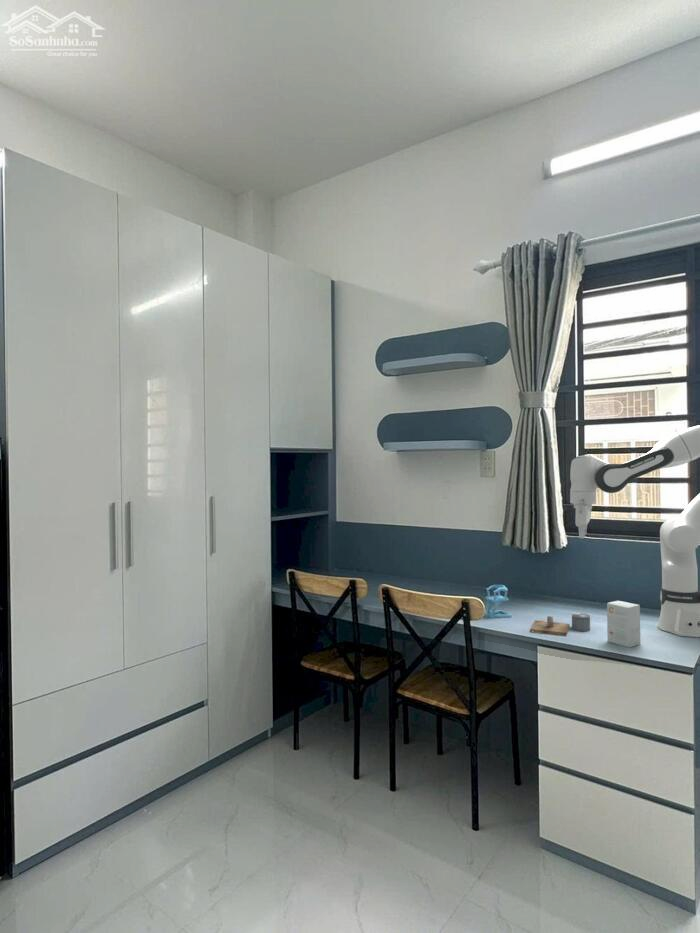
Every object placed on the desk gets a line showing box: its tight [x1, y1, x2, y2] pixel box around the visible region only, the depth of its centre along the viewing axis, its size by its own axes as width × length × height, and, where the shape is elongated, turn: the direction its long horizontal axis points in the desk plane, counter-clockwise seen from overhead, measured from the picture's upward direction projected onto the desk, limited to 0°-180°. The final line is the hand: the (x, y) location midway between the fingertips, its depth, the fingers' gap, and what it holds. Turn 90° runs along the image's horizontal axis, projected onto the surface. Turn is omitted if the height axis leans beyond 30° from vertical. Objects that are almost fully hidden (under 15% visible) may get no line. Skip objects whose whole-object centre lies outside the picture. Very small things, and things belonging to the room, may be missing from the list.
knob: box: [571, 612, 591, 632], centre depth 212 cm, size 6×6×5 cm
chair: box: [485, 584, 513, 619], centre depth 230 cm, size 8×8×12 cm
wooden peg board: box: [530, 615, 571, 637], centre depth 211 cm, size 12×12×4 cm
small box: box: [606, 600, 641, 648], centre depth 195 cm, size 8×6×13 cm
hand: (582, 536), depth 216 cm, fingers open, 8 cm apart
